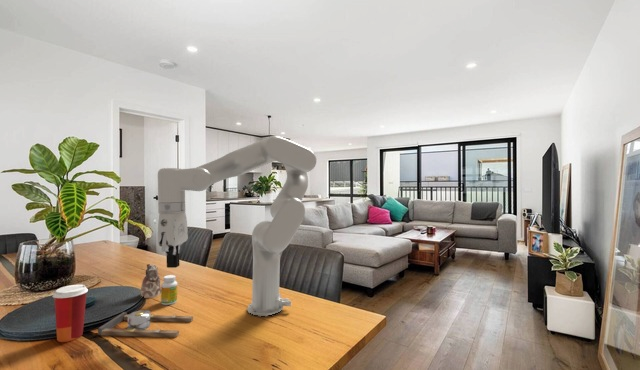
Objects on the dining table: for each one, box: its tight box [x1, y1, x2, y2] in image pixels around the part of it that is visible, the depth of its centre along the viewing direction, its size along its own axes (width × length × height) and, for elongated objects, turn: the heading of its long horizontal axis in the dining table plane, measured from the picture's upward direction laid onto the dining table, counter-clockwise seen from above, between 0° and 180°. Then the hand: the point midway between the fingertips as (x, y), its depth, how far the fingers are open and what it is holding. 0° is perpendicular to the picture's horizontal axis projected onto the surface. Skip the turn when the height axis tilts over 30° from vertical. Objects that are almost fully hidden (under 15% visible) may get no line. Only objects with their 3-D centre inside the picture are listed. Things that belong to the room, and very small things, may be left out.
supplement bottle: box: [160, 274, 178, 306], centre depth 110 cm, size 5×5×10 cm
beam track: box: [97, 311, 194, 338], centre depth 91 cm, size 23×11×2 cm, turn 89°
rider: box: [126, 309, 151, 330], centre depth 91 cm, size 6×6×4 cm
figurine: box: [140, 263, 162, 299], centre depth 117 cm, size 7×7×12 cm
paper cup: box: [51, 284, 89, 343], centre depth 85 cm, size 8×8×14 cm
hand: (173, 266), depth 92 cm, fingers closed
